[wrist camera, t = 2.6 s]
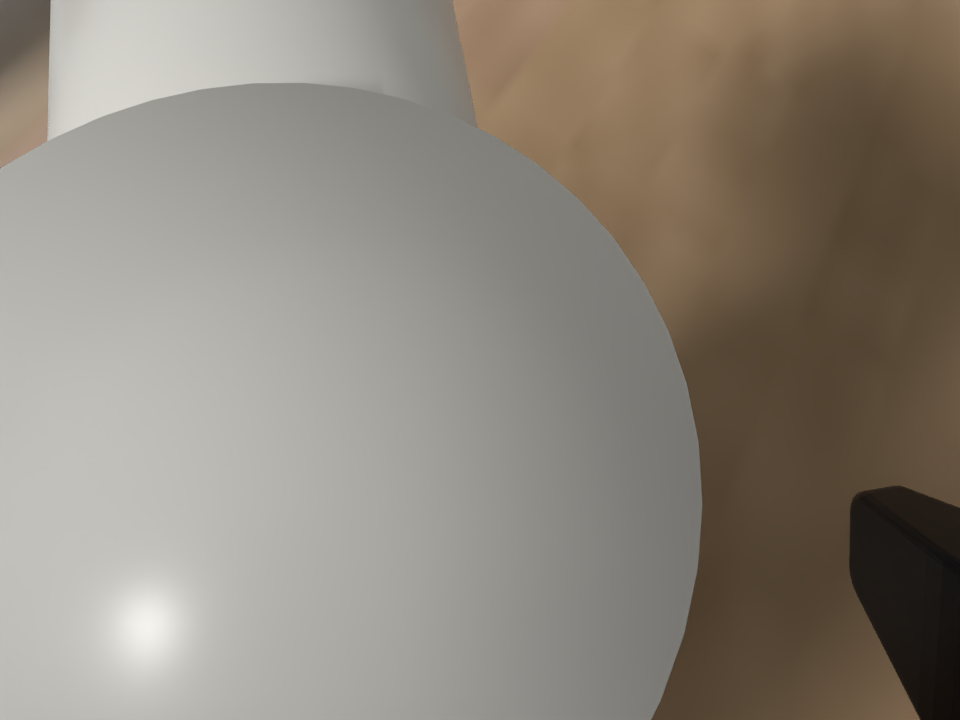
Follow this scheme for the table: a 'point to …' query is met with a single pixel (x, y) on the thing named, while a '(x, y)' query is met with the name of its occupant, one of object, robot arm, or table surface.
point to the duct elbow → (322, 390)
